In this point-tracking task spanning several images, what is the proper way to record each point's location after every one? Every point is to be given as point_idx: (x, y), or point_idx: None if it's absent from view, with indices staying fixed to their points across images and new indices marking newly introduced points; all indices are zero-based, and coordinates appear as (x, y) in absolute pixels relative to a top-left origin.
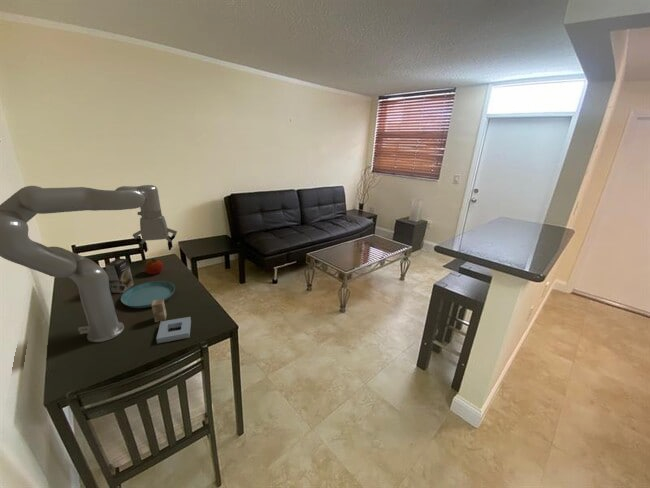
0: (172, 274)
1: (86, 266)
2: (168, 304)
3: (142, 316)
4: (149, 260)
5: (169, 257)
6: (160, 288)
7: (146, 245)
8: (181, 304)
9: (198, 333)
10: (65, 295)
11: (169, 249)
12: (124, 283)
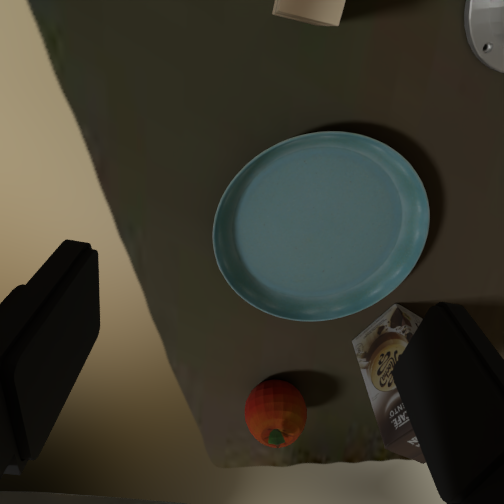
0: (218, 360)
1: None
2: (253, 128)
3: (372, 70)
4: (288, 443)
5: (220, 460)
6: (270, 275)
7: (435, 430)
8: (196, 96)
9: None
10: None
11: (77, 247)
12: (393, 336)
